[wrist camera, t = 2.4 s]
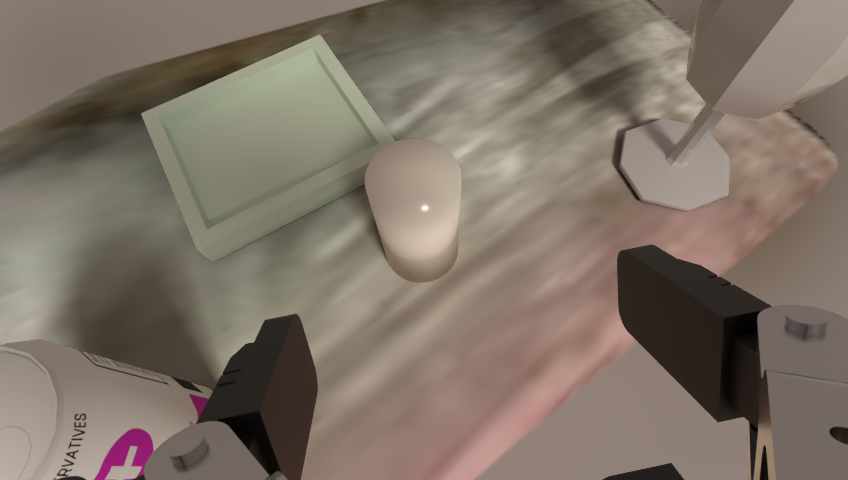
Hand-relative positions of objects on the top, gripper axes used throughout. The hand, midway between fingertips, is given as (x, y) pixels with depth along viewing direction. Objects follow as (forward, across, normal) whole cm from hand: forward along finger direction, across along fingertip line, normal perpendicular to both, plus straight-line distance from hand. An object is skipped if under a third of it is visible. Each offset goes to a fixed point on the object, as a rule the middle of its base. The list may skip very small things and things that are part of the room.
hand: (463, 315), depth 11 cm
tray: (+32, +11, -2) cm, 34 cm away
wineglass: (+26, -21, +5) cm, 34 cm away
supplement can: (+16, +18, +15) cm, 28 cm away
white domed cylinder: (+23, 0, +7) cm, 24 cm away
